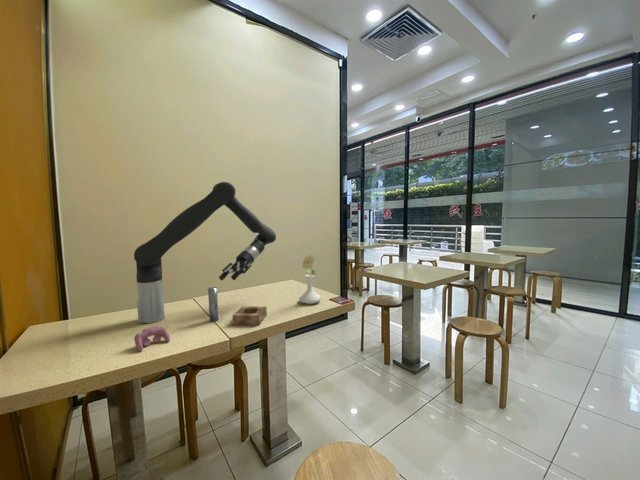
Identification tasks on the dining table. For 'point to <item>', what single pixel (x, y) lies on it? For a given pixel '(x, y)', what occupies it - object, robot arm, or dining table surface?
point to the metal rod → (213, 304)
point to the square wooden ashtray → (249, 315)
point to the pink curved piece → (156, 331)
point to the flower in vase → (309, 283)
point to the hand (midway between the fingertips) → (226, 278)
